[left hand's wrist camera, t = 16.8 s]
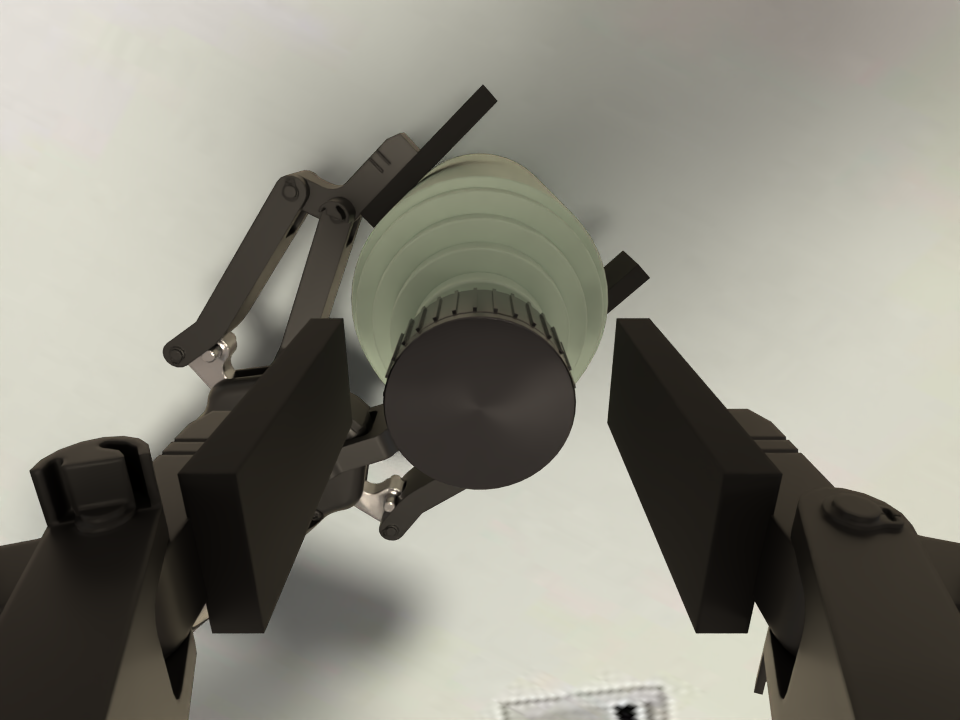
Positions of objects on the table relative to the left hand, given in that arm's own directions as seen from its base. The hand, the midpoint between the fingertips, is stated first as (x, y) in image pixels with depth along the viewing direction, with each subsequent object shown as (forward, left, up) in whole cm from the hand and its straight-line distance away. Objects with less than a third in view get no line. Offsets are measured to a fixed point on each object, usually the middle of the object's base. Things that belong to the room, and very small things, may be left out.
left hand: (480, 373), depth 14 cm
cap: (0, 0, +2) cm, 2 cm away
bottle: (0, 0, -18) cm, 18 cm away
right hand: (-4, -3, -12) cm, 12 cm away
